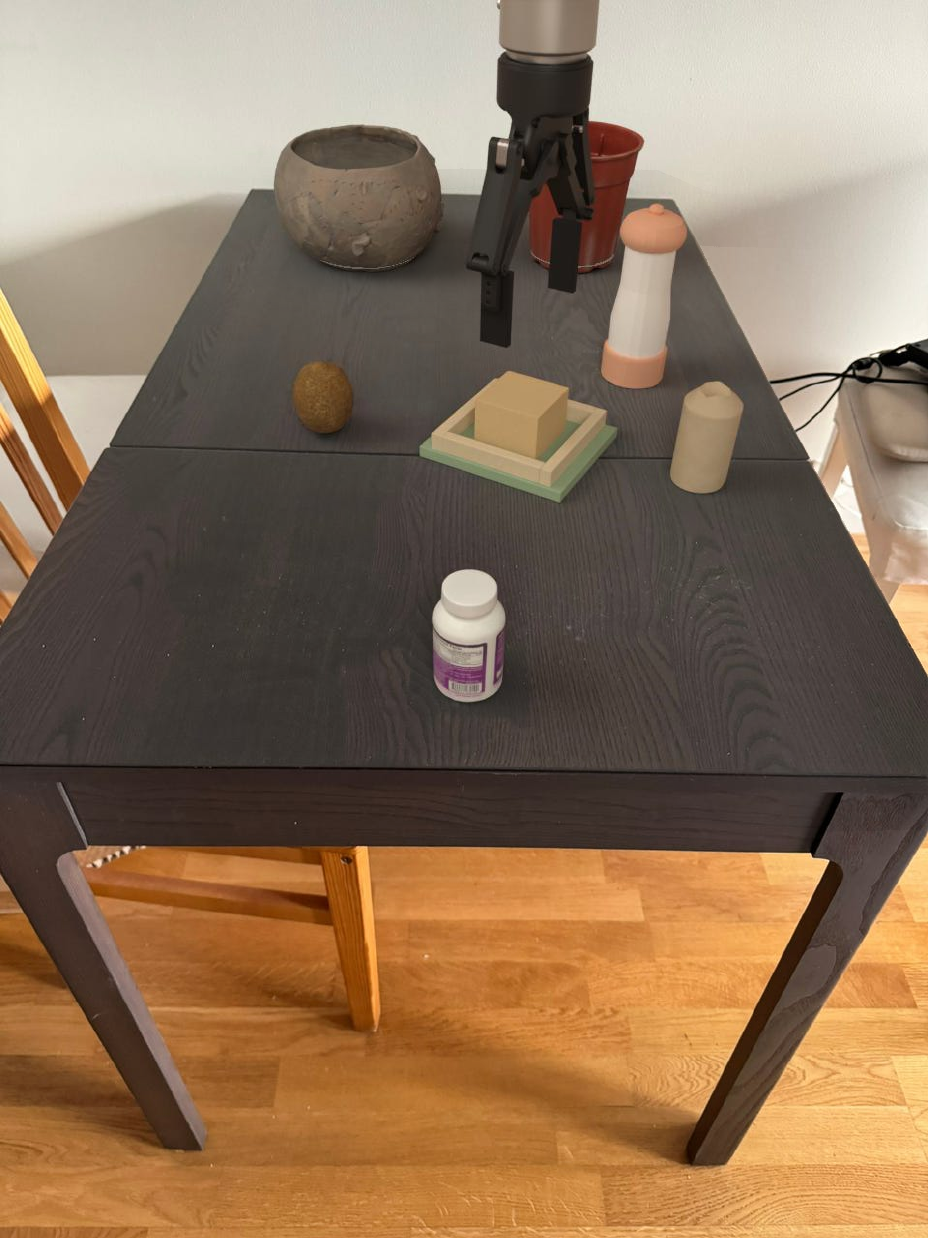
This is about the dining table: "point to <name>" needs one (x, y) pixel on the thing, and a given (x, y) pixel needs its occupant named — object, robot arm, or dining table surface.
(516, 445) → the tan rectangular block
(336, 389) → the fruit
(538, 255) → the flower pot
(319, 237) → the bowl
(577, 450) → the base pad
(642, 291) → the pepper shaker
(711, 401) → the candle
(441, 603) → the pill bottle
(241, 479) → the dining table surface
